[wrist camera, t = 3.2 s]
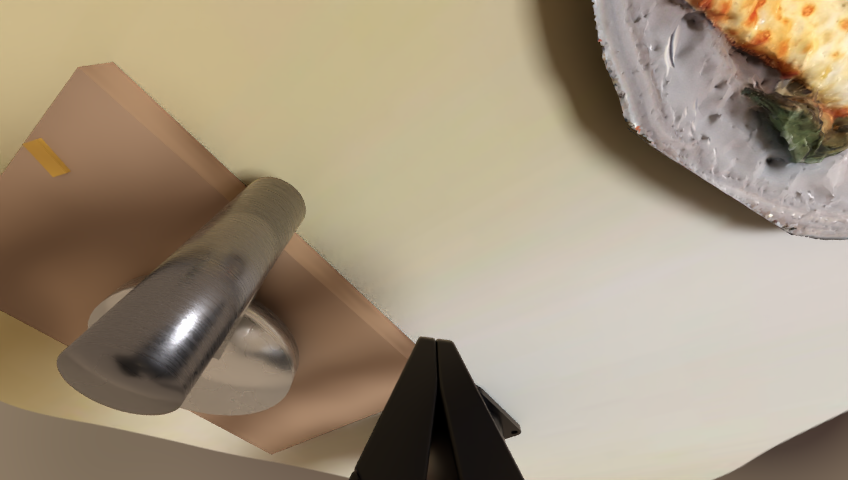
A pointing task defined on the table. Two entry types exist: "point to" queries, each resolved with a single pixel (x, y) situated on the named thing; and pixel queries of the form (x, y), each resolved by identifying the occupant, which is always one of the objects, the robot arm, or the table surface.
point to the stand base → (172, 250)
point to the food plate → (741, 98)
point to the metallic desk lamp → (197, 320)
